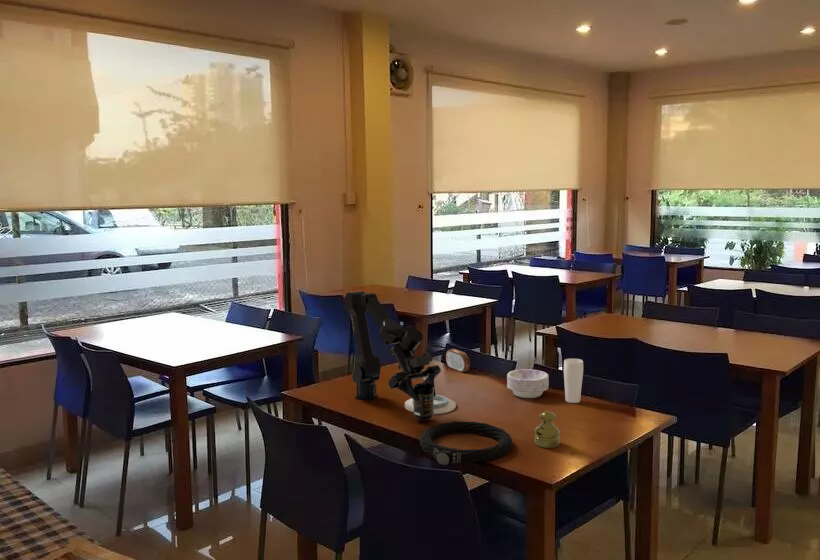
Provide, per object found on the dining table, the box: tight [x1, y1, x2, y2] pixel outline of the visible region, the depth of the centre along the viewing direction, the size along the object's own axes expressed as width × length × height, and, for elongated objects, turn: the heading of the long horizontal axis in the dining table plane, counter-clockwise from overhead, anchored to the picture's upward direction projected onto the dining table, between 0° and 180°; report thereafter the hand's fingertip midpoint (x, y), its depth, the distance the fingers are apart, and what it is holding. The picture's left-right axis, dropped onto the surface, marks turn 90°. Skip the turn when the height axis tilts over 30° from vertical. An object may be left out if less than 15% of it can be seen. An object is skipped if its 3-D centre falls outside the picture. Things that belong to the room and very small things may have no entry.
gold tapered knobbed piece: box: [534, 410, 561, 449], centre depth 205 cm, size 7×7×10 cm
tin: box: [445, 348, 471, 373], centre depth 292 cm, size 15×3×8 cm, turn 30°
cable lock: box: [419, 421, 513, 466], centre depth 204 cm, size 28×4×30 cm
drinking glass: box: [563, 358, 584, 404], centre depth 246 cm, size 7×7×15 cm
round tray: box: [404, 394, 457, 415], centre depth 243 cm, size 18×18×2 cm
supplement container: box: [413, 382, 435, 420], centre depth 227 cm, size 7×7×10 cm
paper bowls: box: [506, 368, 550, 399], centre depth 255 cm, size 15×15×8 cm
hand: (426, 398), depth 226 cm, fingers closed on supplement container, 7 cm apart
